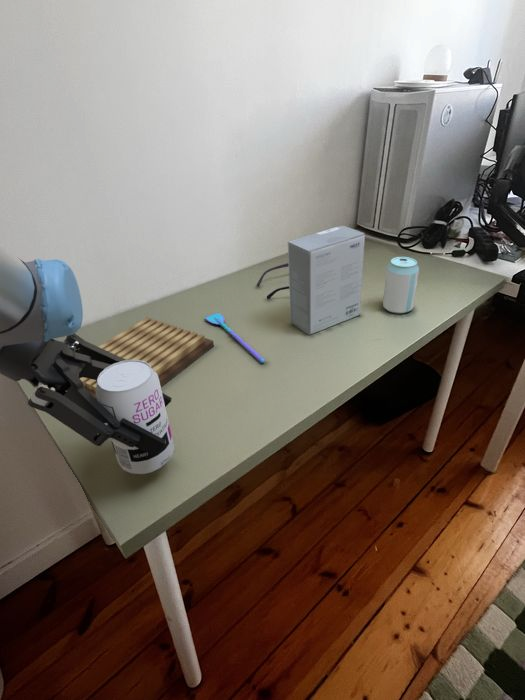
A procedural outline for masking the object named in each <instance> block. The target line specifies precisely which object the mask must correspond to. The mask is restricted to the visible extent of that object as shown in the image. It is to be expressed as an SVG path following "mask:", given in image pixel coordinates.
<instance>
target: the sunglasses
mask: <svg viewBox="0 0 525 700" xmlns="http://www.w3.org/2000/svg"><path fill="white" fill-rule="evenodd" d="M283 268H289V263H288V262H287V263H283V264H279V265H276V266H273V267H270V268H269V269H267V270H265V271H264V272H263V273H262V274H261V276H260V278H259V279H258V281H257V283H256V286H258V287H260V285H261V283H262V281H263V279H264V277H265V275H267V273H269V272H273V271H275V270H278V269H283ZM283 290H289V285H288V286H283V287H278V288H276V289H274V290H273V291H272V292H270V293H269V294H267V296H266V299H267V300H270V299H271V298H272V297H273V296H274V295H275V294H276V293H278V292H279V291H283Z"/></svg>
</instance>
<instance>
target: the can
mask: <svg viewBox="0 0 525 700" xmlns="http://www.w3.org/2000/svg"><path fill="white" fill-rule="evenodd" d="M419 273H420V268H419V266H418V261H417V260H416V259H415V258H414V257H413V258H412V257H408V256H396V257H393V258H392V259H390V262H389V264H388V265H387V266H386V273H385V281H384V282H385V283H384V289H383V300H382V306H383V308H384V309H385V310H386V311H388V312H390V313H393V314H399V315H400V314H405V313H408V312H410V311H412V310H413V309H414V304H415V298H416V291H417V285H418V279H419Z"/></svg>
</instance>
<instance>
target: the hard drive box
mask: <svg viewBox="0 0 525 700" xmlns="http://www.w3.org/2000/svg"><path fill="white" fill-rule="evenodd" d="M365 244H366V233H365V232H363V231H359V230H357V229H354V228H352V227H348V226H345V225H339V226H335V227H332V228H329V229H325V230H322V231H318V232H316V233H312V234H309V235H306V236H302V237H300V238H299V237H298V238H296V239H293V240H292V239H291V240H289V241H287V253H288V254H287V258H288V262H287V263H289V266H288V286H289V289H288V290H289V291H288V292H289V313H290V314H289V315H290V317H289V319H290V324H292V325H294V326H295V327H296V328H297V329H299V330H300V331H302V332H304V333H305V334H306V335H308V336H311V335H313V334H315V333H319V332H321V331H324V330H326V329H328V328H330V327H331V328H332V327H333V326H336V325H338V324H340V323H343V322H346V321H349V320H351V319H353V318H355V317H358V316H360V315H361V303H362V286H363V272H364V259H365V257H364V256H365Z"/></svg>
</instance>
